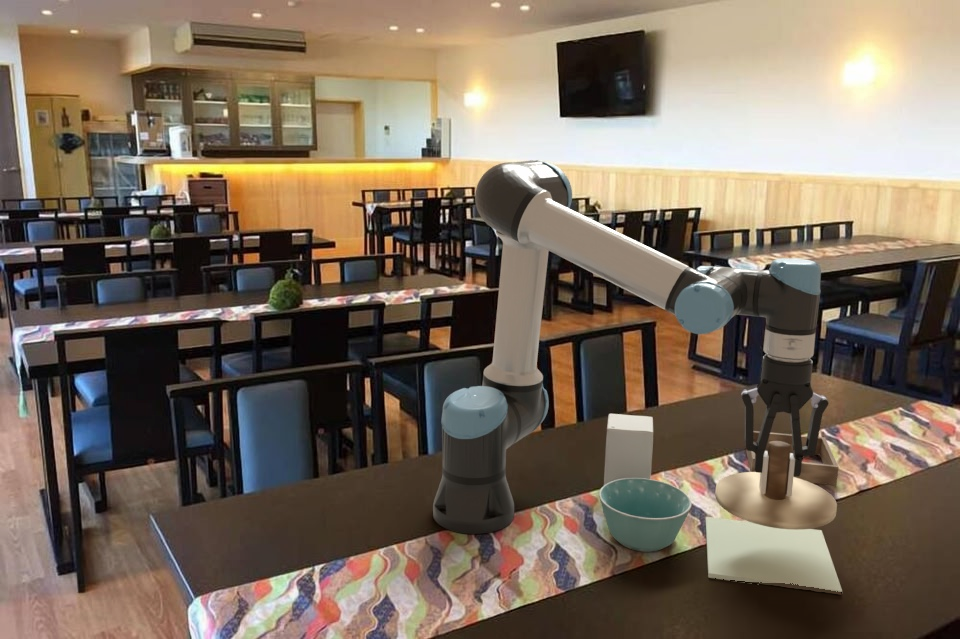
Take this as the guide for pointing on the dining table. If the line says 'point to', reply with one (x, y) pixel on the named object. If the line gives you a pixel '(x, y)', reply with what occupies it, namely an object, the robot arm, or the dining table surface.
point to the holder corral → (809, 471)
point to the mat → (768, 554)
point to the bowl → (644, 512)
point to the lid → (776, 496)
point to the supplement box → (628, 447)
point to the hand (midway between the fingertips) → (775, 491)
